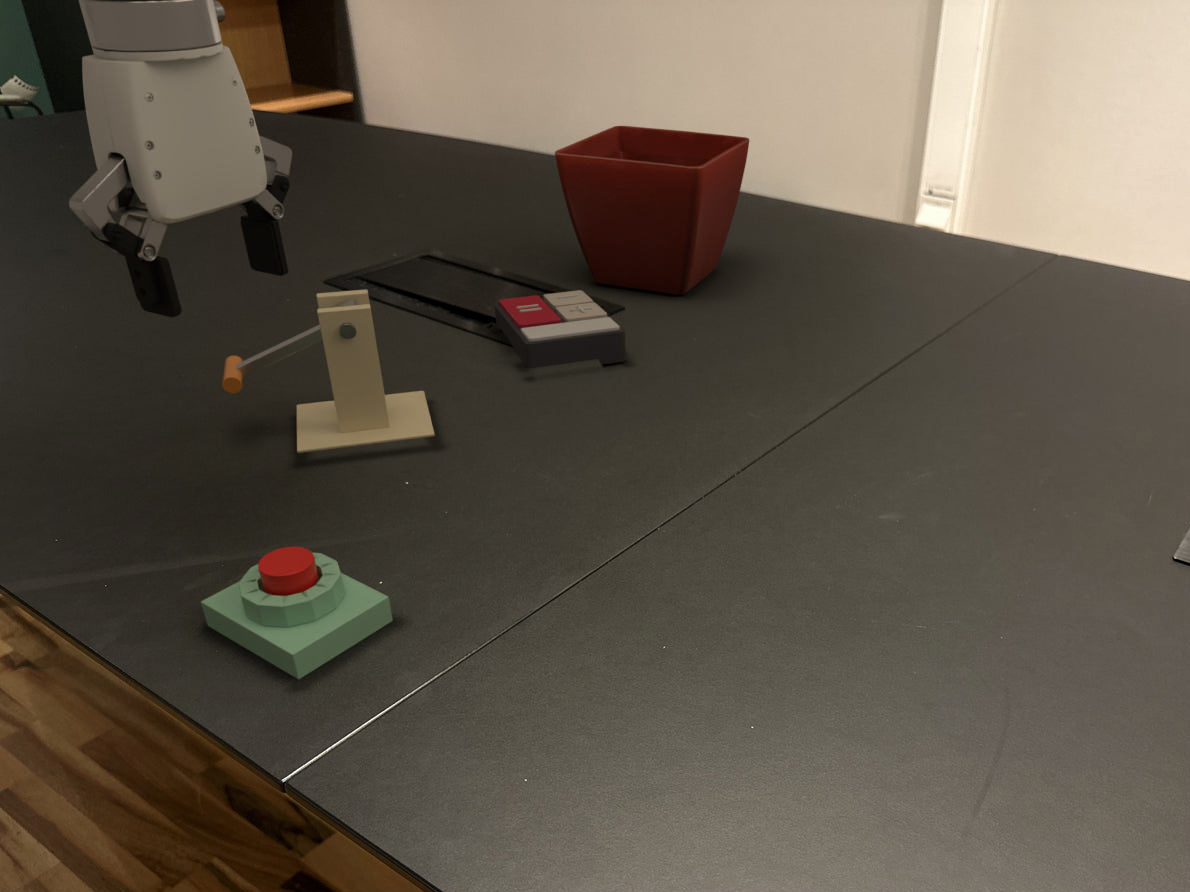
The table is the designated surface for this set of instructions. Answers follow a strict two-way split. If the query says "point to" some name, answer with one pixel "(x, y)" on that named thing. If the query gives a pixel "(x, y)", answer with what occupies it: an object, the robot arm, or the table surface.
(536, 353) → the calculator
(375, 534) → the table surface
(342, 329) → the bracket
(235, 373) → the lever
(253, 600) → the control block
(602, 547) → the table surface
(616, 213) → the flower pot
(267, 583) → the button
